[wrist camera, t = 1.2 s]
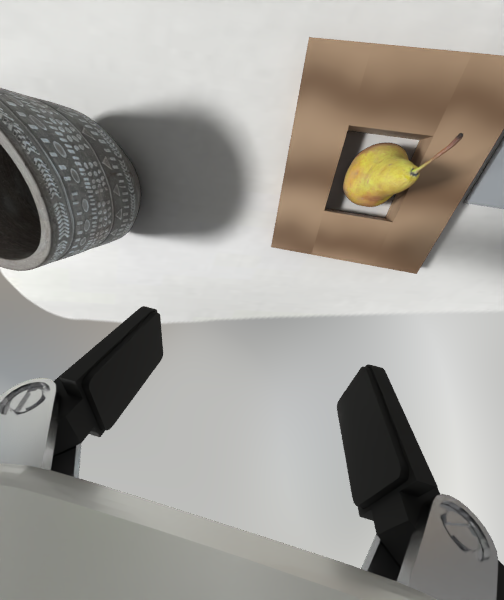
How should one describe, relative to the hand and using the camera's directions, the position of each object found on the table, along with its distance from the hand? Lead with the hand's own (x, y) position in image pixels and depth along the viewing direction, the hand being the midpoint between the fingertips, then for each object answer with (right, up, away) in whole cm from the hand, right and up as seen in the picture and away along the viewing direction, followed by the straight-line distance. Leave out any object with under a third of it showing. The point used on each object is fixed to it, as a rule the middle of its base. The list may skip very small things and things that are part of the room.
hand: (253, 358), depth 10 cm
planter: (-20, +19, +20) cm, 34 cm away
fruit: (+13, +17, +14) cm, 25 cm away
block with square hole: (+13, +17, +14) cm, 25 cm away
